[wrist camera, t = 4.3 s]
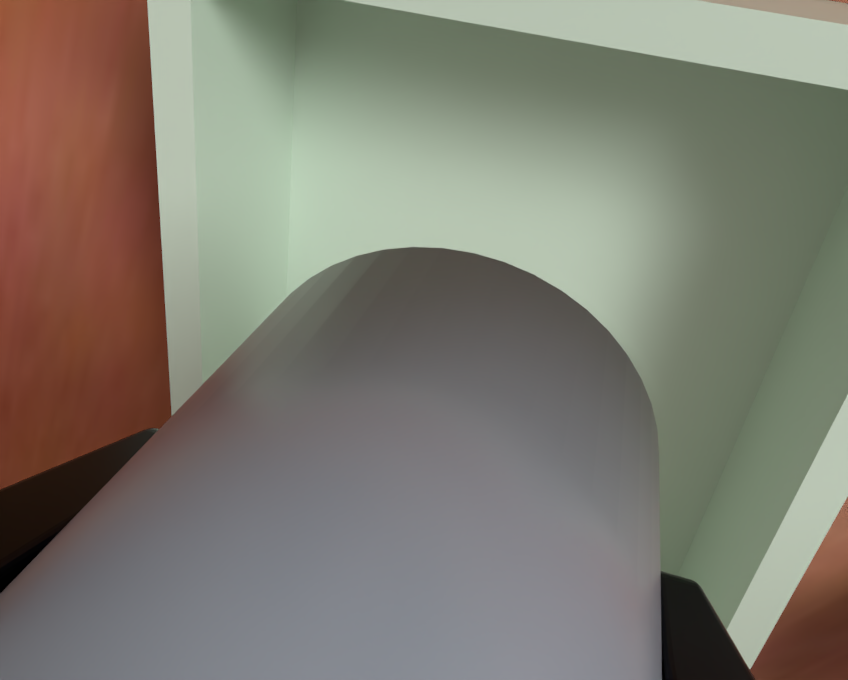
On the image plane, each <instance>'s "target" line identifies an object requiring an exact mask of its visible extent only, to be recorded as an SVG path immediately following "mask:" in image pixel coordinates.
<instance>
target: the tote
mask: <svg viewBox="0 0 848 680" xmlns="http://www.w3.org/2000/svg"><path fill="white" fill-rule="evenodd" d="M147 4H148V21H149V38H150V55H151V73H152V90H153V107H154V124H155V141H156V158H157V175H158V192H159V209H160V226H161V243H162V260H163V277H164V294H165V311H166V328H167V345H168V362H169V379H170V396H171V413H172V415H173V414H174V413H175V412H176V411H177V410H178V409H179V408H180V407H181V406H182V405H183V404H184V403H185V402H186V401H187V400H188V399H189V398H190V397H191V396H192V395H193V394H194V393H195V392H196V391H197V390H198V389H199V388H200V387H201V385H202V384H203V383H204V382H205V381H206V380H207V379H208V378H209V377H210V376H211V375H212V374H213V373H214V372H215V371H216V370H217V369H218V368H219V367H220V366H221V365H222V364H223V363H224V362H225V361H226V360H227V359H228V358H229V357H230V356H231V354H232V353H233V352H234V351H235V350H236V349H237V348H238V347H239V346H240V345H241V344H242V343H243V342H244V341H245V340H246V339H247V338H248V337H249V336H250V335H251V334H252V333H253V332H254V331H255V330H256V329H257V328H258V327H259V326H260V324H261V323H262V322H263V321H264V320H265V319H266V318H267V317H268V316H269V315H270V314H271V313H272V312H273V311H274V310H275V309H276V308H277V307H278V306H279V305H280V304H281V303H282V302H283V301H284V300H285V299H286V298H287V297H288V296H289V294H290V293H292V292H293V291H294V290H295V289H297V288H298V287H299V286H300V285H302V284H303V283H304V282H305V281H307V280H308V279H309V278H311V277H312V276H314V275H316V274H318V273H319V272H321V271H323V270H325V269H326V268H328V267H330V266H332V265H334V264H337V263H339V262H342V261H344V260H347V259H350V258H352V257H355V256H358V255H362V254H367V253H371V252H375V251H380V250H385V249H395V248H406V247H429V248H446V249H452V250H458V251H464V252H470V253H475V254H479V255H482V256H486V257H489V258H492V259H496V260H499V261H503V262H506V263H508V264H510V265H513V266H515V267H517V268H520V269H522V270H524V271H527V272H529V273H531V274H534V275H536V276H537V277H539V278H541V279H542V280H544V281H546V282H548V283H549V284H551V285H553V286H555V287H556V288H558V289H560V290H562V291H563V292H564V293H566V294H567V295H568V296H570V297H571V298H572V299H574V300H575V301H576V302H578V303H579V304H580V305H582V306H583V307H584V308H585V309H587V310H588V311H589V312H590V313H591V314H592V315H593V316H594V317H595V318H596V319H597V320H598V321H599V322H600V323H601V324H602V325H603V326H604V327H605V328H606V329H607V330H608V331H609V332H610V333H611V334H612V336H613V337H614V338H615V339H616V341H617V342H618V343H619V344H620V346H621V347H622V348H623V350H624V351H625V352H626V353H627V355H628V357H629V358H630V360H631V362H632V363H633V365H634V367H635V369H636V370H637V372H638V374H639V375H640V377H641V379H642V381H643V384H644V386H645V389H646V391H647V394H648V396H649V399H650V401H651V404H652V408H653V412H654V417H655V421H656V425H657V432H658V447H659V494H660V564H661V571H663V572H666V573H670V574H673V575H677V576H681V577H684V578H688V579H691V580H693V581H695V582H697V583H698V584H699V585H700V586H701V588H702V589H703V591H704V593H705V594H706V596H707V598H708V599H709V601H710V603H711V605H712V606H713V608H714V610H715V611H716V613H717V615H718V616H719V618H720V620H721V622H722V623H723V625H724V627H725V628H726V630H727V632H728V634H729V635H730V637H731V639H732V640H733V642H734V644H735V646H736V647H737V649H738V651H739V652H740V654H741V656H742V657H743V659H744V661H745V663H746V664H747V666H748V668H749V669H751V667H752V665H753V664H754V662H755V660H756V658H757V657H758V655H759V653H760V651H761V649H762V648H763V646H764V644H765V642H766V641H767V639H768V637H769V635H770V633H771V632H772V630H773V628H774V626H775V625H776V623H777V621H778V619H779V617H780V616H781V614H782V612H783V610H784V609H785V607H786V605H787V603H788V601H789V600H790V598H791V596H792V594H793V593H794V591H795V589H796V587H797V585H798V584H799V582H800V580H801V578H802V577H803V575H804V573H805V571H806V569H807V568H808V566H809V564H810V562H811V561H812V559H813V557H814V555H815V553H816V552H817V550H818V548H819V546H820V545H821V543H822V541H823V539H824V537H825V536H826V534H827V532H828V530H829V529H830V527H831V525H832V523H833V522H834V520H835V518H836V516H837V514H838V513H839V511H840V509H841V507H842V506H843V504H844V502H845V500H846V498H847V497H848V4H847V3H841V2H835V1H829V0H147Z"/></svg>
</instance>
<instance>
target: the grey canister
mask: <svg viewBox="0 0 848 680" xmlns="http://www.w3.org/2000/svg"><path fill="white" fill-rule="evenodd" d="M0 680H662V634H661V564H660V494H659V447H658V432H657V425H656V421H655V417H654V412H653V408H652V404H651V401H650V399H649V396H648V394H647V391H646V389H645V386H644V384H643V381H642V379H641V377H640V375H639V374H638V372H637V370H636V369H635V367H634V365H633V363H632V362H631V360H630V358H629V357H628V355H627V353H626V352H625V351H624V350H623V348H622V347H621V346H620V344H619V343H618V342H617V341H616V339H615V338H614V337H613V336H612V334H611V333H610V332H609V331H608V330H607V329H606V328H605V327H604V326H603V325H602V324H601V323H600V322H599V321H598V320H597V319H596V318H595V317H594V316H593V315H592V314H591V313H590V312H589V311H588V310H587V309H585V308H584V307H583V306H582V305H580V304H579V303H578V302H576V301H575V300H574V299H572V298H571V297H570V296H568V295H567V294H566V293H564V292H563V291H562V290H560V289H558V288H556V287H555V286H553V285H551V284H549V283H548V282H546V281H544V280H542V279H541V278H539V277H537V276H536V275H534V274H531V273H529V272H527V271H524V270H522V269H520V268H517V267H515V266H513V265H510V264H508V263H506V262H503V261H499V260H496V259H492V258H489V257H486V256H482V255H479V254H475V253H470V252H464V251H458V250H452V249H446V248H429V247H406V248H395V249H385V250H380V251H375V252H371V253H367V254H362V255H358V256H355V257H352V258H350V259H347V260H344V261H342V262H339V263H337V264H334V265H332V266H330V267H328V268H326V269H325V270H323V271H321V272H319V273H318V274H316V275H314V276H312V277H311V278H309V279H308V280H307V281H305V282H304V283H303V284H302V285H300V286H299V287H298V288H297V289H295V290H294V291H293V292H292V293H290V294H289V296H288V297H287V298H286V299H285V300H284V301H283V302H282V303H281V304H280V305H279V306H278V307H277V308H276V309H275V310H274V311H273V312H272V313H271V314H270V315H269V316H268V317H267V318H266V319H265V320H264V321H263V322H262V323H261V324H260V326H259V327H258V328H257V329H256V330H255V331H254V332H253V333H252V334H251V335H250V336H249V337H248V338H247V339H246V340H245V341H244V342H243V343H242V344H241V345H240V346H239V347H238V348H237V349H236V350H235V351H234V352H233V353H232V354H231V356H230V357H229V358H228V359H227V360H226V361H225V362H224V363H223V364H222V365H221V366H220V367H219V368H218V369H217V370H216V371H215V372H214V373H213V374H212V375H211V376H210V377H209V378H208V379H207V380H206V381H205V382H204V383H203V384H202V385H201V387H200V388H199V389H198V390H197V391H196V392H195V393H194V394H193V395H192V396H191V397H190V398H189V399H188V400H187V401H186V402H185V403H184V404H183V405H182V406H181V407H180V408H179V409H178V410H177V411H176V412H175V413H174V414H173V415H172V417H171V418H170V419H169V420H168V421H167V422H166V423H165V424H164V425H163V426H162V427H161V428H160V429H159V430H158V431H157V432H156V433H155V434H154V435H153V436H152V437H151V438H150V439H149V440H148V441H147V442H146V443H145V444H144V445H143V447H142V448H141V449H140V450H139V451H138V452H137V453H136V454H135V455H134V456H133V457H132V458H131V459H130V460H129V461H128V462H127V463H126V464H125V465H124V466H123V467H122V468H121V469H120V470H119V471H118V472H117V473H116V474H115V475H114V476H113V478H112V479H111V480H110V481H109V482H108V483H107V484H106V485H105V486H104V487H103V488H102V489H101V490H100V491H99V492H98V493H97V494H96V495H95V496H94V497H93V498H92V499H91V500H90V501H89V502H88V503H87V504H86V505H85V506H84V508H83V509H82V510H81V511H80V512H79V513H78V514H77V515H76V516H75V517H74V518H73V519H72V520H71V521H70V522H69V523H68V524H67V525H66V526H65V527H64V528H63V529H62V530H61V531H60V532H59V533H58V534H57V535H56V536H55V538H54V539H53V540H52V541H51V542H50V543H49V544H48V545H47V546H46V547H45V548H44V549H43V550H42V551H41V552H40V553H39V554H38V555H37V556H36V557H35V558H34V559H33V560H32V561H31V562H30V563H29V564H28V565H27V566H26V567H25V569H24V570H23V571H22V572H21V573H20V574H19V575H18V576H17V577H16V578H15V579H14V580H13V581H12V582H11V583H10V584H9V585H8V586H7V587H6V588H5V589H4V590H3V591H2V592H1V593H0Z"/></svg>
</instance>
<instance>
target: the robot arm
mask: <svg viewBox="0 0 848 680" xmlns="http://www.w3.org/2000/svg"><path fill="white" fill-rule="evenodd" d="M158 430H159V429H155V428H150V429H146V430H143V431H141V432H138V433H136V434H133V435H131V436H129V437H126V438H124V439H121V440H119V441H117V442H114V443H112V444H109V445H107V446H104V447H102V448H100V449H97V450H95V451H92V452H90V453H88V454H85V455H83V456H80V457H78V458H76V459H73V460H71V461H68V462H66V463H63V464H61V465H59V466H56V467H54V468H51V469H49V470H47V471H44V472H42V473H39V474H37V475H34V476H32V477H30V478H27V479H25V480H22V481H20V482H18V483H15V484H13V485H10V486H8V487H6V488H3V489H1V490H0V593H1V592H2V591H3V590H4V589H5V588H6V587H7V586H8V585H9V584H10V583H11V582H12V581H13V580H14V579H15V578H16V577H17V576H18V575H19V574H20V573H21V572H22V571H23V570H24V569H25V567H26V566H27V565H28V564H29V563H30V562H31V561H32V560H33V559H34V558H35V557H36V556H37V555H38V554H39V553H40V552H41V551H42V550H43V549H44V548H45V547H46V546H47V545H48V544H49V543H50V542H51V541H52V540H53V539H54V538H55V536H56V535H57V534H58V533H59V532H60V531H61V530H62V529H63V528H64V527H65V526H66V525H67V524H68V523H69V522H70V521H71V520H72V519H73V518H74V517H75V516H76V515H77V514H78V513H79V512H80V511H81V510H82V509H83V508H84V506H85V505H86V504H87V503H88V502H89V501H90V500H91V499H92V498H93V497H94V496H95V495H96V494H97V493H98V492H99V491H100V490H101V489H102V488H103V487H104V486H105V485H106V484H107V483H108V482H109V481H110V480H111V479H112V478H113V476H114V475H115V474H116V473H117V472H118V471H119V470H120V469H121V468H122V467H123V466H124V465H125V464H126V463H127V462H128V461H129V460H130V459H131V458H132V457H133V456H134V455H135V454H136V453H137V452H138V451H139V450H140V449H141V448H142V447H143V445H144V444H145V443H146V442H147V441H148V440H149V439H150V438H151V437H152V436H153V435H154V434H155V433H156V432H157V431H158ZM661 634H662V680H755V678H754V676H753V675H752V673H751V671H750V669H749V668H748V666H747V664H746V663H745V661H744V659H743V657H742V656H741V654H740V652H739V651H738V649H737V647H736V646H735V644H734V642H733V640H732V639H731V637H730V635H729V634H728V632H727V630H726V628H725V627H724V625H723V623H722V622H721V620H720V618H719V616H718V615H717V613H716V611H715V610H714V608H713V606H712V605H711V603H710V601H709V599H708V598H707V596H706V594H705V593H704V591H703V589H702V588H701V586H700V585H699V584H698V583H697V582H695V581H693V580H691V579H688V578H684V577H681V576H677V575H673V574H670V573H666V572H663V571H661Z"/></svg>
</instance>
